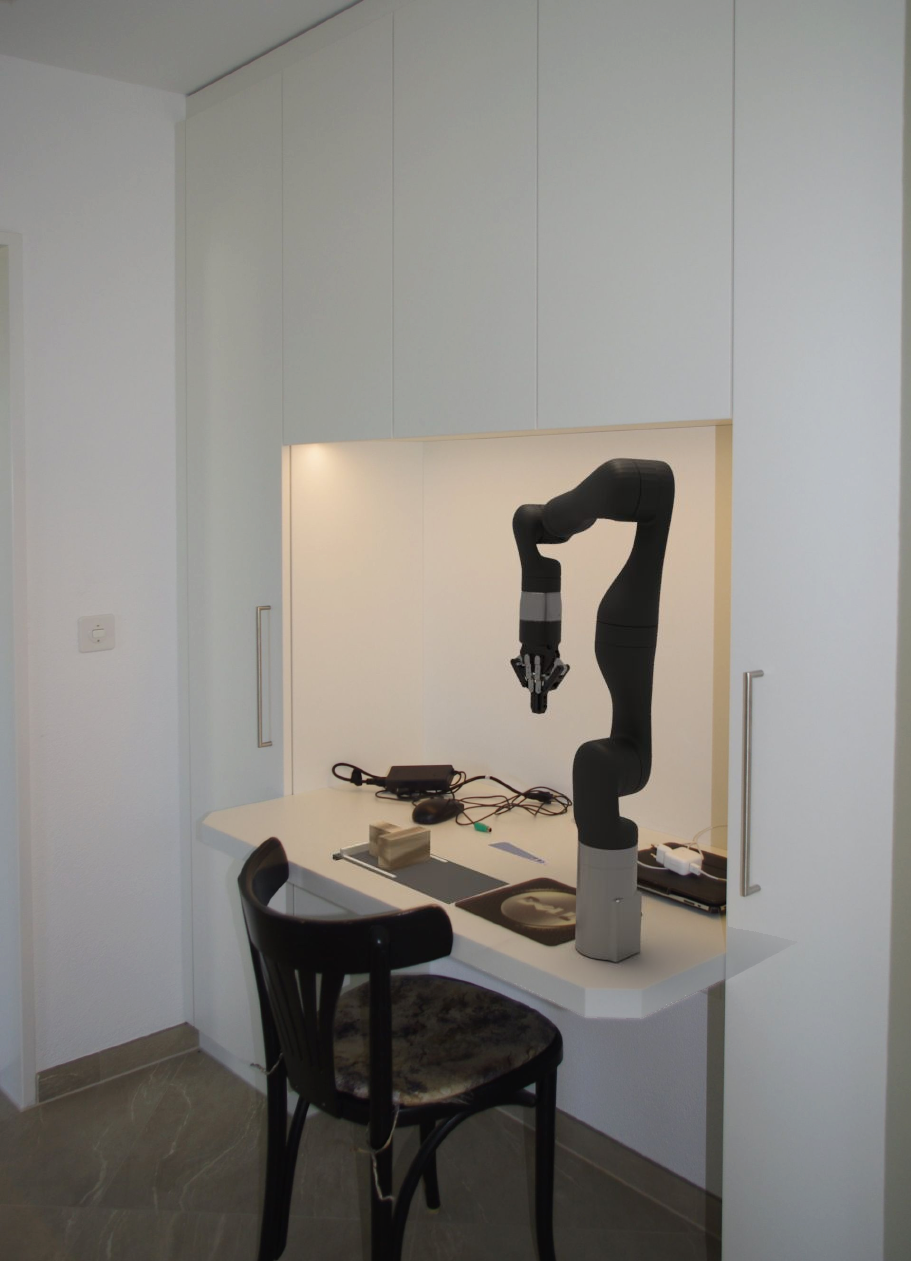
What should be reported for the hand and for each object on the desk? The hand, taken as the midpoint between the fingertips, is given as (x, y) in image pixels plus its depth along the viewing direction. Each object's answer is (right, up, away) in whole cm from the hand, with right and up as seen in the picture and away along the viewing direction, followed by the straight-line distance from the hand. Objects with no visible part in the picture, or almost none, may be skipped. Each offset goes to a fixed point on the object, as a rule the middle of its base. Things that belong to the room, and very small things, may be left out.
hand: (538, 712), depth 179 cm
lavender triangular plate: (-4, -31, +19) cm, 36 cm away
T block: (-27, -30, +14) cm, 43 cm away
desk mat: (-22, -31, +9) cm, 39 cm away
